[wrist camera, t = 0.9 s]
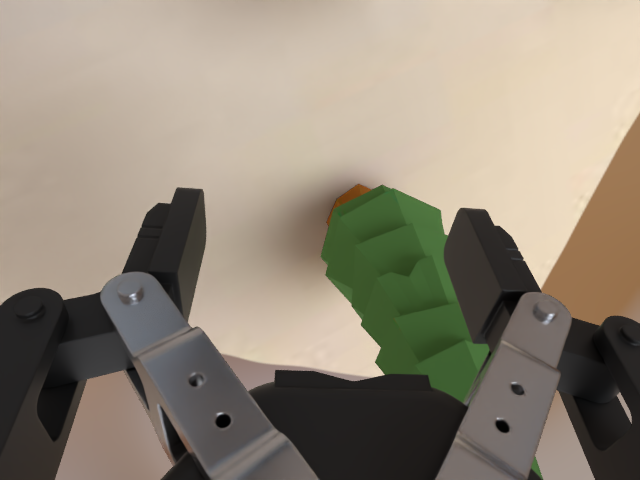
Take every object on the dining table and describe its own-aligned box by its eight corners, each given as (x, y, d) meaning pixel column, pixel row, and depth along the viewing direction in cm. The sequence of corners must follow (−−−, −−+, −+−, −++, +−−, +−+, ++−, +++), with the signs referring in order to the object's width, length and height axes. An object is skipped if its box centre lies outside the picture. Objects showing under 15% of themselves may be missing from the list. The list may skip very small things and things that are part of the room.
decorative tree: (289, 209, 39) (411, 610, 12) (377, 139, 37) (740, 406, 10) (354, 282, 43) (554, 704, 16) (435, 221, 41) (803, 566, 15)
